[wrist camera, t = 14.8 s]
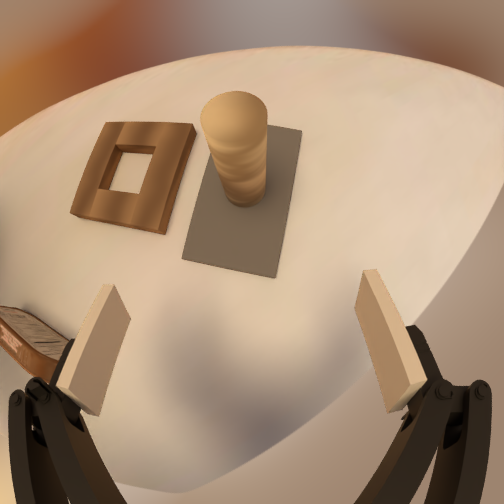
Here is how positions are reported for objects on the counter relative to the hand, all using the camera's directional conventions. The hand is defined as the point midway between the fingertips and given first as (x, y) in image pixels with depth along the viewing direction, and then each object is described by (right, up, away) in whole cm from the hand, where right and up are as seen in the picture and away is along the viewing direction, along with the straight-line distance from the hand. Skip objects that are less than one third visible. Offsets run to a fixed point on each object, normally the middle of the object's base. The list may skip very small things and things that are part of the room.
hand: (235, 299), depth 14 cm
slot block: (-12, +11, +14) cm, 22 cm away
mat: (0, +9, +13) cm, 16 cm away
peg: (0, +9, +13) cm, 15 cm away
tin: (-23, -8, +12) cm, 27 cm away
